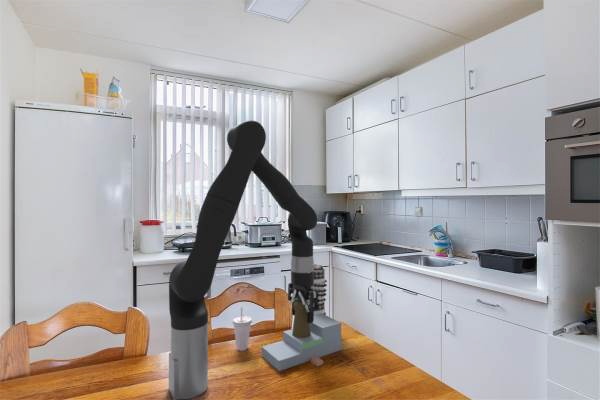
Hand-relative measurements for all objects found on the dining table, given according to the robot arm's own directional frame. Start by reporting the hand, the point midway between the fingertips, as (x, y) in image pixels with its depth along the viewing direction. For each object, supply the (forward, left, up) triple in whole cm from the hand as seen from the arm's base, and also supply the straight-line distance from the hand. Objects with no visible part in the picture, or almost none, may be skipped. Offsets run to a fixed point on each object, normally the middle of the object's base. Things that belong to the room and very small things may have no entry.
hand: (302, 318), depth 103 cm
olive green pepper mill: (0, 0, -5) cm, 5 cm away
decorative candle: (+14, +12, -11) cm, 22 cm away
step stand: (0, 0, -11) cm, 11 cm away
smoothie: (-15, +14, -11) cm, 23 cm away
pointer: (0, -8, -11) cm, 14 cm away
